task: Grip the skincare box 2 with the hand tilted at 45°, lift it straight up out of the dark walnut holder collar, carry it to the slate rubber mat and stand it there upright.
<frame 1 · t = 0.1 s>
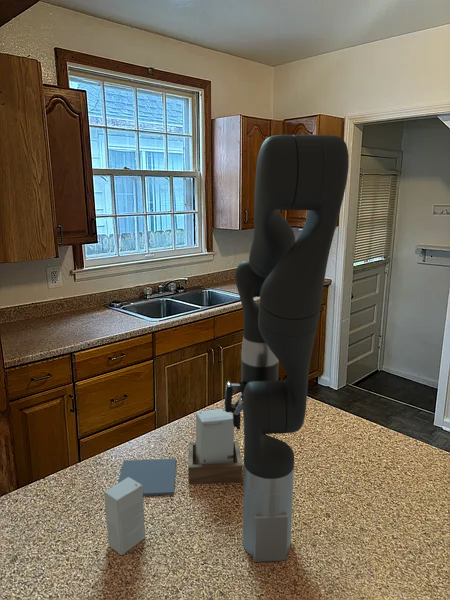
hand: (258, 426, 96), 17 cm above the countertop, tool pointing down, fingers open, 8 cm apart
holder collar: (214, 470, 110), on the countertop
skincare box 2: (214, 470, 110), resting in holder collar
slate mat: (147, 477, 107), on the countertop
skincare box: (126, 542, 87), on the countertop
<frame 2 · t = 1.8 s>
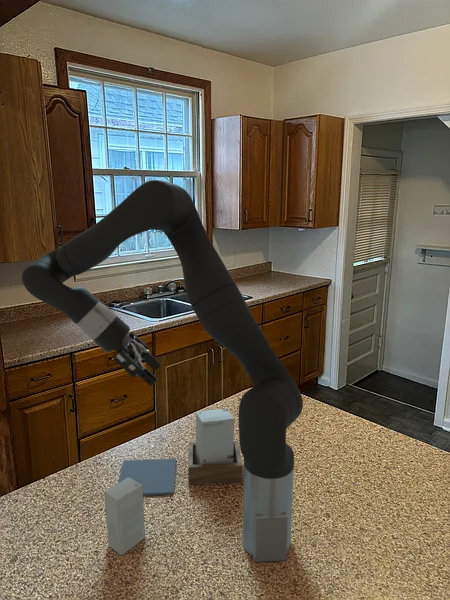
hand: (156, 374, 103), 25 cm above the countertop, tool tilted 45°, fingers open, 8 cm apart
nothing on the countertop moved.
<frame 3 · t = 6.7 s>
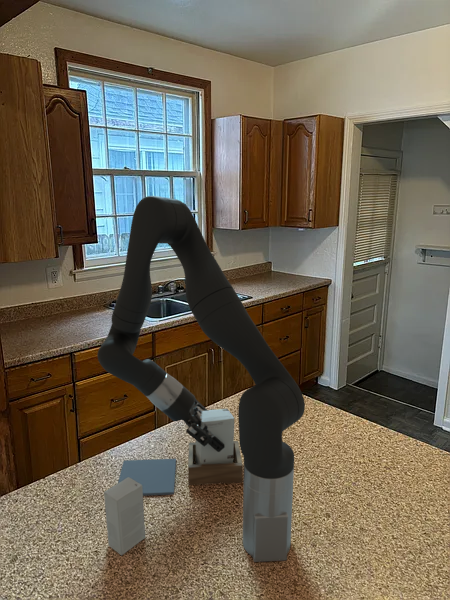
hand: (220, 440, 108), 8 cm above the countertop, tool tilted 45°, fingers closed on skincare box 2, 6 cm apart
skincare box 2: (214, 470, 110), resting in holder collar, touching gripper
everything else where it was.
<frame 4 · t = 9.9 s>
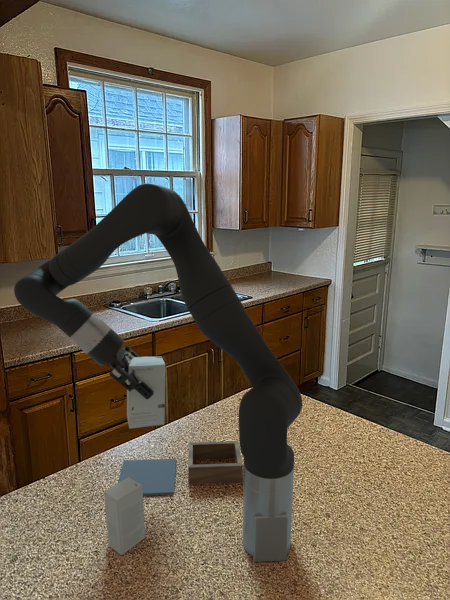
hand: (152, 388, 102), 23 cm above the countertop, tool tilted 45°, fingers closed on skincare box 2, 6 cm apart
skincare box 2: (146, 421, 103), point 14 cm above the countertop, touching gripper
everything else where it was.
when the fingers open (10 cm above the countertop, at t = 13.4 s): skincare box 2 drops 1 cm, resting on slate mat.
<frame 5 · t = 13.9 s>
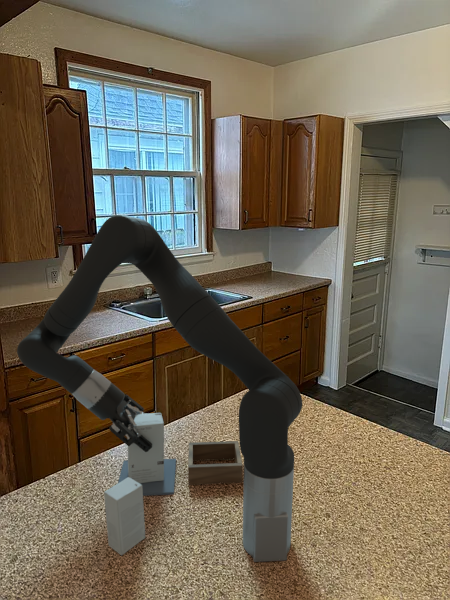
hand: (151, 438, 104), 10 cm above the countertop, tool tilted 45°, fingers open, 8 cm apart
skincare box 2: (146, 476, 106), resting on slate mat
everything else where it was.
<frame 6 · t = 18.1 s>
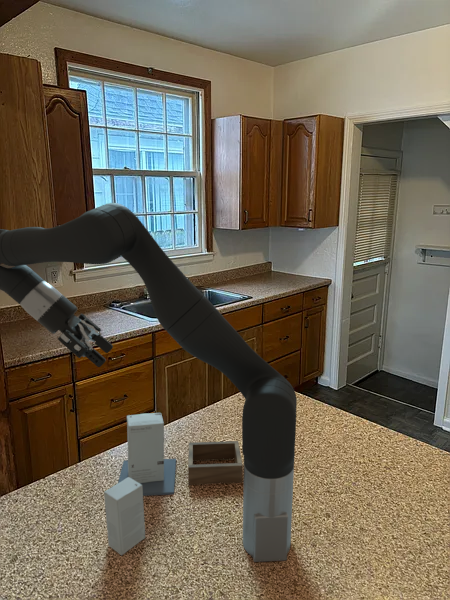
hand: (106, 356, 99), 31 cm above the countertop, tool tilted 45°, fingers open, 8 cm apart
nothing on the countertop moved.
at the end: skincare box 2 inside the target area on the slate mat (0.1 cm from its centre), point 0.4 cm above the slate mat's base; skincare box 2 tilted 0°; the gripper is holding nothing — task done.
